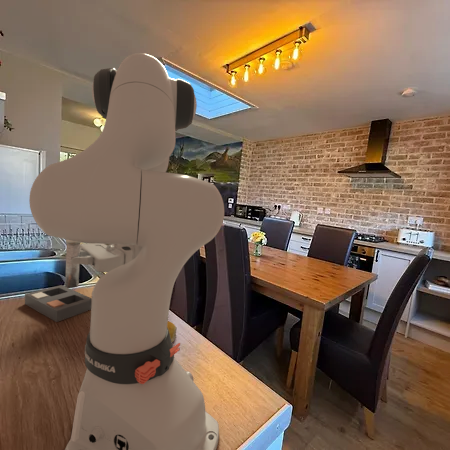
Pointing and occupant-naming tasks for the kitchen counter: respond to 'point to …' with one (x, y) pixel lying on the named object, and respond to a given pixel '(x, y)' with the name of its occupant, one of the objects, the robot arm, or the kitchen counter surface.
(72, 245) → the metal plug
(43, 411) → the kitchen counter surface
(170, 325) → the bread roll
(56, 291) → the socket board
